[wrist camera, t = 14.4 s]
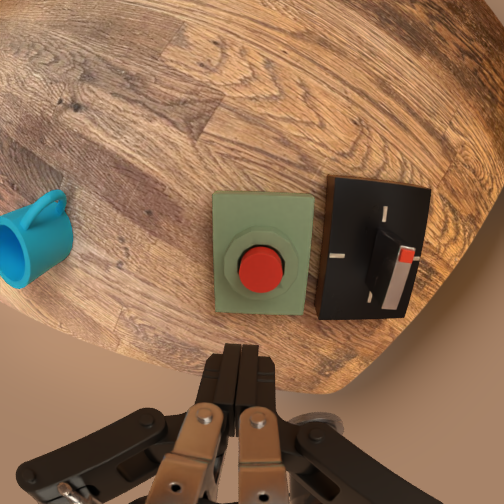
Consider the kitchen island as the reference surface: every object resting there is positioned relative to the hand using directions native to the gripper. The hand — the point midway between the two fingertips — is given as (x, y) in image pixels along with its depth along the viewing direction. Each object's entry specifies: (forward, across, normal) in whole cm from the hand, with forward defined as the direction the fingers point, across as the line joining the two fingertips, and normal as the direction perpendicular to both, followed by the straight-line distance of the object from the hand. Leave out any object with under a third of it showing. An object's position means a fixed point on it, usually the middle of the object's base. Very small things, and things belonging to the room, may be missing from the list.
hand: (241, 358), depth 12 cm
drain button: (+13, -1, +1) cm, 13 cm away
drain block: (+17, -1, +1) cm, 17 cm away
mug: (+17, +24, -2) cm, 30 cm away
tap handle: (+14, -12, 0) cm, 18 cm away
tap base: (+17, -12, 0) cm, 20 cm away
